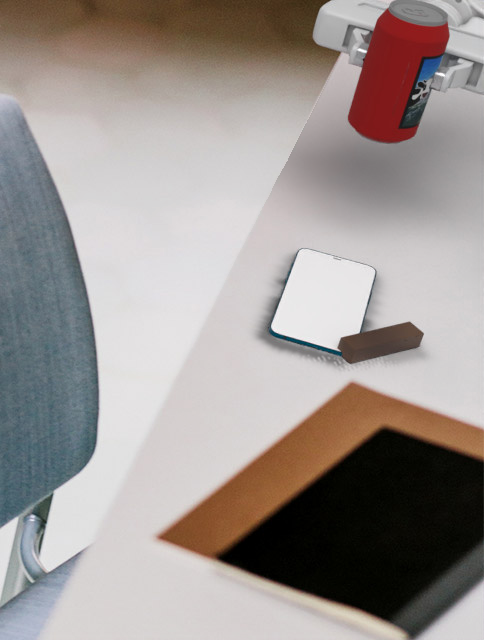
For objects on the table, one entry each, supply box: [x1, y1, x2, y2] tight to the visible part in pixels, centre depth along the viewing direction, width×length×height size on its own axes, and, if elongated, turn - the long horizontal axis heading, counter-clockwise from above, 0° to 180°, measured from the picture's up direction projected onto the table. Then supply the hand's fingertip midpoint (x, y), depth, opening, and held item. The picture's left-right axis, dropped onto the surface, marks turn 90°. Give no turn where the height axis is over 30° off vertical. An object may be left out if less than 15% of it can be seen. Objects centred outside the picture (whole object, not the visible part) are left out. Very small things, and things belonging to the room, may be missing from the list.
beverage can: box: [347, 0, 450, 145], centre depth 112 cm, size 7×7×12 cm
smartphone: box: [268, 247, 378, 358], centre depth 111 cm, size 8×1×16 cm
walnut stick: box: [337, 321, 425, 364], centre depth 105 cm, size 8×2×2 cm, turn 117°
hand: (398, 70), depth 111 cm, fingers closed on beverage can, 6 cm apart
